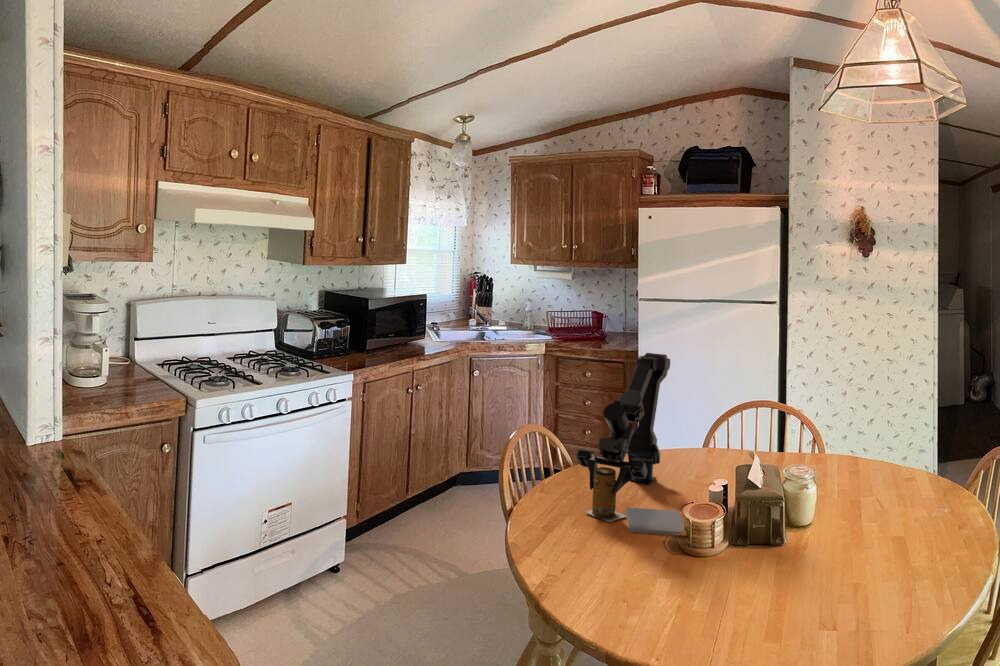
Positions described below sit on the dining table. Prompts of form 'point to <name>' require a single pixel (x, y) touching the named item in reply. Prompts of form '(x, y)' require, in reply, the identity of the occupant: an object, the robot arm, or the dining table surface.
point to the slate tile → (654, 521)
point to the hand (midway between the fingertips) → (602, 491)
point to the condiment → (604, 495)
